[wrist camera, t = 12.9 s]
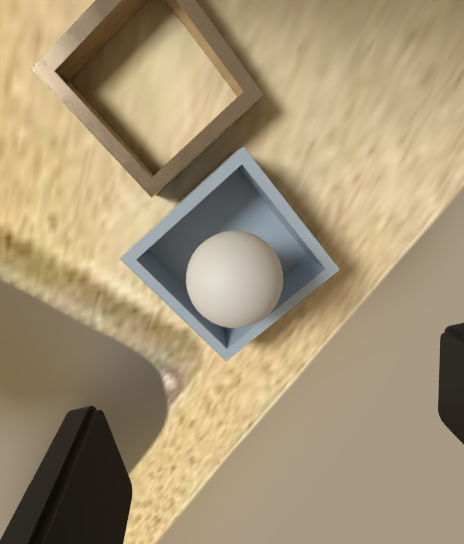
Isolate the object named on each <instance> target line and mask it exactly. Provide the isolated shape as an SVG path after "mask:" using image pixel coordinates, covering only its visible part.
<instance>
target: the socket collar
mask: <svg viewBox="0 0 464 544" xmlns="http://www.w3.org/2000/svg"><path fill="white" fill-rule="evenodd" d="M146 1H147V0H96V1H95V2H94V3H93V4H92V5H91V6H90V7H89V8H88V9H87V10H86V11H85V12H84V13H83V14H82V15H81V17H80V18H79V19H78V20H77V21H76V22H75V23H74V24H73V25H72V26H71V27H70V28H69V29H68V30H67V31H66V33H65V34H64V35H63V36H62V37H61V38H60V39H59V40H58V41H57V42H56V43H55V44H54V45H53V46H52V47H51V48H50V50H49V51H48V52H47V53H46V54H45V55H44V56H43V57H42V58H41V59H40V60H39V61H38V62H37V63H36V64H35V66H34V67H33V68H32V70H33V71H34V72H35V73H36V74H37V75H38V76H39V77H40V78H41V79H42V80H43V81H44V82H45V84H46V85H47V86H48V87H49V88H50V89H51V90H52V91H53V92H54V93H55V94H56V95H57V96H58V98H59V99H60V100H61V101H62V102H63V103H64V104H65V105H66V106H67V107H68V108H69V109H70V110H71V111H72V113H73V114H74V115H75V116H76V117H77V118H78V119H79V120H80V121H81V122H82V123H83V124H84V125H85V127H86V128H87V129H88V130H89V131H90V132H91V133H92V134H93V135H94V136H95V137H96V138H97V139H98V141H99V142H100V143H101V144H102V145H103V146H104V147H105V148H106V149H107V150H108V151H109V152H110V153H111V155H112V156H113V157H114V158H115V159H116V160H117V161H118V162H119V163H120V164H121V165H122V166H123V167H124V168H125V170H126V171H127V172H128V173H129V174H130V175H131V176H132V177H133V178H134V179H135V180H136V181H137V182H138V184H139V185H140V186H141V187H142V188H143V189H144V190H145V191H146V192H147V193H148V194H149V195H150V196H151V197H153V196H155V195H157V194H158V193H159V192H160V191H161V190H162V189H163V188H164V187H165V186H166V185H167V184H168V183H170V182H171V181H172V180H173V179H174V178H175V177H176V176H177V175H178V174H179V173H180V172H181V171H182V170H184V169H185V168H186V167H187V166H188V165H189V164H190V163H191V162H192V161H193V160H194V159H195V158H197V157H198V156H199V155H200V154H201V153H202V152H203V151H204V150H205V149H206V148H207V147H208V146H209V145H211V144H212V143H213V142H214V141H215V140H216V139H217V138H218V137H219V136H220V135H221V134H222V133H223V132H225V131H226V130H227V129H228V128H229V127H230V126H231V125H232V124H233V123H234V122H235V121H236V120H238V119H239V118H240V117H241V116H242V115H243V114H244V113H245V112H246V111H247V110H248V109H249V108H250V107H252V106H253V105H254V104H255V103H256V102H257V101H258V100H259V98H260V97H261V96H262V95H263V93H262V91H261V90H260V88H259V87H258V86H257V84H256V83H255V82H254V80H253V79H252V77H251V76H250V75H249V73H248V72H247V70H246V69H245V68H244V66H243V65H242V63H241V62H240V61H239V59H238V58H237V57H236V55H235V54H234V52H233V51H232V50H231V48H230V47H229V45H228V44H227V43H226V41H225V40H224V38H223V37H222V36H221V34H220V33H219V32H218V30H217V29H216V27H215V26H214V25H213V23H212V22H211V20H210V19H209V18H208V16H207V15H206V14H205V12H204V11H203V9H202V8H201V7H200V5H199V4H198V2H197V1H196V0H166V1H167V3H168V4H169V6H170V7H171V8H172V10H173V11H174V12H175V14H176V15H177V16H178V18H179V19H180V20H181V22H182V23H183V24H184V26H185V27H186V28H187V30H188V31H189V32H190V34H191V35H192V36H193V38H194V39H195V40H196V42H197V43H198V44H199V46H200V47H201V48H202V50H203V51H204V52H205V54H206V55H207V56H208V58H209V59H210V60H211V62H212V63H213V64H214V66H215V67H216V68H217V70H218V71H219V72H220V74H221V75H222V76H223V78H224V79H225V80H226V82H227V83H228V84H229V86H230V87H231V88H232V90H233V91H234V92H235V94H236V95H237V96H238V97H237V98H236V99H235V100H234V101H233V102H232V103H231V104H230V105H229V106H228V107H227V108H226V109H225V110H223V111H222V112H221V113H220V114H219V115H218V116H217V117H216V118H215V119H214V120H213V121H212V122H211V123H210V124H209V125H207V126H206V127H205V128H204V129H203V130H202V131H201V132H200V133H199V134H198V135H197V136H196V137H195V138H194V139H193V140H191V141H190V142H189V143H188V144H187V145H186V146H185V147H184V148H183V149H182V150H181V151H180V152H179V153H178V154H177V155H175V156H174V157H173V158H172V159H171V160H170V161H169V162H168V163H167V164H166V165H165V166H164V167H163V168H162V169H161V170H159V171H158V172H157V173H156V174H155V175H153V174H152V173H151V171H150V170H149V169H148V168H147V167H146V166H145V165H144V164H143V163H142V161H141V160H140V159H139V158H138V157H137V156H136V155H135V154H134V153H133V152H132V150H131V149H130V148H129V147H128V146H127V145H126V144H125V143H124V142H123V140H122V139H121V138H120V137H119V136H118V135H117V134H116V133H115V132H114V131H113V129H112V128H111V127H110V126H109V125H108V124H107V123H106V122H105V121H104V119H103V118H102V117H101V116H100V115H99V114H98V113H97V112H96V111H95V110H94V108H93V107H92V106H91V105H90V104H89V103H88V102H87V101H86V100H85V98H84V97H83V96H82V95H81V94H80V93H79V92H78V91H77V90H76V89H75V87H74V86H73V85H72V84H71V83H70V82H69V80H70V79H71V78H72V77H73V76H74V75H75V74H76V73H77V72H78V71H79V70H80V69H81V68H82V67H83V66H84V65H85V64H86V63H87V62H88V61H89V60H90V59H91V58H92V57H93V56H94V55H95V54H96V53H97V51H98V50H99V49H100V48H101V47H102V46H103V45H104V44H105V43H106V42H107V41H108V40H109V39H110V38H111V37H112V36H113V35H114V34H115V33H116V32H117V31H118V30H119V29H120V28H121V27H122V26H123V25H124V24H125V22H126V21H127V20H128V19H129V18H130V17H131V16H132V15H133V14H134V13H135V12H136V11H137V10H138V9H139V8H140V7H141V6H142V5H143V4H144V3H145V2H146Z"/></svg>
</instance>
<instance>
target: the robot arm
mask: <svg viewBox="0 0 464 544" xmlns="http://www.w3.org/2000/svg"><path fill="white" fill-rule="evenodd" d="M438 412H439V416H440V418H441V420H442V421H443V423H444V424H445V425H446V426H447V427H448V428H449V429H450V431H451V432H452V433H453V434H454V435H455V436H456V437H457V438H458V439H459V440H460V441H461V442H462V443H463V444H464V323H461V324H456V325H452V326H449V327H447V328H446V329H445V333H443V334H442V335H441V338H440V369H439V400H438ZM131 500H132V484H131V481H130V478H129V476H128V473H127V471H126V468H125V466H124V463H123V461H122V458H121V456H120V453H119V451H118V448H117V446H116V443H115V440H114V438H113V435H112V433H111V430H110V428H109V425H108V423H107V420H106V418H105V415H104V413H103V411H101V410H96V408H95V407H94V406H89V407H85V408H80V409H76V410H71V411H69V412H68V414H67V415H66V417H65V419H64V420H63V422H62V424H61V426H60V428H59V430H58V432H57V434H56V436H55V438H54V439H53V441H52V443H51V445H50V447H49V449H48V451H47V453H46V455H45V457H44V459H43V461H42V462H41V464H40V466H39V468H38V470H37V472H36V474H35V476H34V478H33V480H32V482H31V483H30V485H29V486H28V488H27V491H26V492H25V494H24V496H23V498H22V500H21V502H20V504H19V505H18V507H17V510H16V511H15V513H14V515H13V517H12V519H11V521H10V523H9V525H8V526H7V529H6V530H5V532H4V534H3V536H2V538H1V540H0V544H123V541H124V536H125V531H126V526H127V520H128V515H129V510H130V505H131Z"/></svg>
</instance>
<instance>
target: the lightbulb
mask: <svg viewBox="0 0 464 544" xmlns="http://www.w3.org/2000/svg"><path fill="white" fill-rule="evenodd" d="M186 286H187V291H188V294H189V297H190V299H191V301H192V304H193V305H194V306H195V308H196V309H197V311H198V312H199V313H200V314H201V315H202V316H203V317H205V318H206V319H208V320H209V321H211V322H212V323H214V324H217V325H219V326H223V327H228V328H241V327H247V326H250V325H253V324H255V323H257V322H259V321H261V320H262V319H264V318H265V317H266V316H267V315H268V314H269V313H270V312H271V311H272V310H273V309H274V307H275V306H276V304H277V302H278V300H279V298H280V295H281V292H282V288H283V271H282V266H281V263H280V260H279V258H278V256H277V255H276V253H275V251H274V250H273V249H272V248H271V247H270V246H269V244H268V243H266V242H265V241H264V240H262V239H261V238H260V237H258V236H256V235H254V234H251V233H248V232H244V231H227V232H222V233H219V234H216V235H214V236H212V237H210V238H209V239H207V240H205V241H204V242H203V243H202V244H201V245H200V246H199V247H198V248H197V249H196V251H195V252H194V253H193V255H192V257H191V259H190V261H189V264H188V268H187V273H186Z"/></svg>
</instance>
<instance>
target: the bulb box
mask: <svg viewBox="0 0 464 544" xmlns="http://www.w3.org/2000/svg"><path fill="white" fill-rule="evenodd" d="M227 231H244V232H248V233H251V234H254V235H256V236H258V237H260V238H261V239H262V240H264V241H265V242H266V243H268V244H269V246H270V247H271V248H272V249H273V250H274V251H275V253H276V255H277V256H278V258H279V260H280V263H281V266H282V271H283V288H282V292H281V295H280V298H279V300H278V302H277V304H276V306H275V307H274V309H273V310H272V311H271V312H270V313H269V314H268V315H267V316H266V317H265V318H264V319H262V320H261V321H259V322H257V323H255V324H253V325H250V326H247V327H241V328H228V327H223V326H219V325H217V324H214V323H212V322H211V321H209V320H208V319H206V318H205V317H203V316H202V315H201V314H200V313H199V312H198V311H197V309H196V308H195V306H194V305H193V304H192V301H191V299H190V297H189V294H188V291H187V286H186V273H187V268H188V264H189V261H190V259H191V257H192V255H193V253H194V252H195V251H196V249H197V248H198V247H199V246H200V245H201V244H202V243H203V242H204V241H205V240H207V239H209V238H210V237H212V236H214V235H216V234H219V233H222V232H227ZM120 260H121V261H122V262H123V263H124V264H126V265H127V266H128V267H129V268H130V269H131V270H132V271H133V272H134V273H135V274H136V275H137V276H138V277H139V278H140V279H141V280H142V281H143V282H144V283H145V284H146V285H147V286H148V287H149V288H150V289H151V290H152V291H154V292H155V293H156V294H157V295H158V296H159V297H160V298H161V299H162V300H163V301H164V302H165V303H166V304H167V305H168V306H169V307H170V308H171V309H172V310H173V311H174V312H175V313H176V314H177V315H178V316H179V317H180V318H182V319H183V320H184V321H185V322H186V323H187V324H188V325H189V326H190V327H191V328H192V329H193V330H194V331H195V332H196V333H197V334H198V335H199V336H200V337H201V338H202V339H203V340H204V341H205V342H206V343H207V344H209V345H210V346H211V347H212V348H213V349H214V350H215V351H216V352H217V353H218V354H219V355H220V356H221V357H222V358H223V359H224V360H225V361H227V360H228V359H230V358H231V357H232V356H233V355H235V354H236V353H237V352H238V351H240V350H241V349H242V348H243V347H245V346H246V345H247V344H248V343H250V342H251V341H252V340H253V339H255V338H256V337H257V336H258V335H259V334H261V333H262V332H263V331H264V330H266V329H267V328H268V327H269V326H271V325H272V324H273V323H274V322H276V321H277V320H278V319H279V318H281V317H282V316H283V315H284V314H285V313H287V312H288V311H289V310H290V309H292V308H293V307H294V306H295V305H297V304H298V303H299V302H300V301H302V300H303V299H304V298H305V297H307V296H308V295H309V294H310V293H312V292H313V291H314V290H315V289H316V288H318V287H319V286H320V285H321V284H323V283H324V282H325V281H326V280H328V279H329V278H330V277H331V276H333V275H334V274H335V273H336V272H338V271H339V270H340V269H339V268H338V267H337V265H336V264H335V263H334V262H333V260H332V259H331V258H330V257H329V255H328V254H327V253H326V251H325V250H324V249H323V248H322V246H321V245H320V244H319V242H318V241H317V240H316V239H315V237H314V236H313V235H312V233H311V232H310V231H309V230H308V228H307V227H306V226H305V225H304V223H303V222H302V221H301V219H300V218H299V217H298V216H297V214H296V213H295V212H294V210H293V209H292V208H291V207H290V205H289V204H288V203H287V202H286V200H285V199H284V198H283V196H282V195H281V194H280V193H279V191H278V190H277V189H276V187H275V186H274V185H273V184H272V182H271V181H270V180H269V178H268V177H267V176H266V175H265V173H264V172H263V171H262V170H261V168H260V167H259V166H258V164H257V163H256V162H255V161H254V159H253V158H252V157H251V155H250V154H249V153H248V152H247V150H246V149H245V148H244V147H242V148H240V149H238V150H237V151H235V152H234V153H233V154H232V155H231V156H230V157H229V158H228V159H227V160H225V161H224V162H223V163H222V164H221V165H220V166H219V167H218V168H217V169H216V170H214V171H213V172H212V173H211V174H210V175H209V176H208V177H207V178H206V179H205V180H203V181H202V182H201V183H200V184H199V185H198V186H197V187H196V188H195V189H194V190H192V191H191V192H190V193H189V194H188V195H187V196H186V197H185V198H184V199H183V200H182V201H180V202H179V203H178V204H177V205H176V206H175V207H174V208H173V209H172V210H171V211H169V212H168V213H167V214H166V215H165V216H164V217H163V218H162V219H161V220H160V221H158V222H157V223H156V224H155V225H154V226H153V227H152V228H151V229H150V230H149V231H147V232H146V233H145V234H144V235H143V236H142V237H141V238H140V239H139V240H138V241H137V242H135V243H134V244H133V245H132V246H131V247H130V249H129V250H128V251H127V252H126V253H125V254H124V255H123V256H122V257H121V258H120Z"/></svg>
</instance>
